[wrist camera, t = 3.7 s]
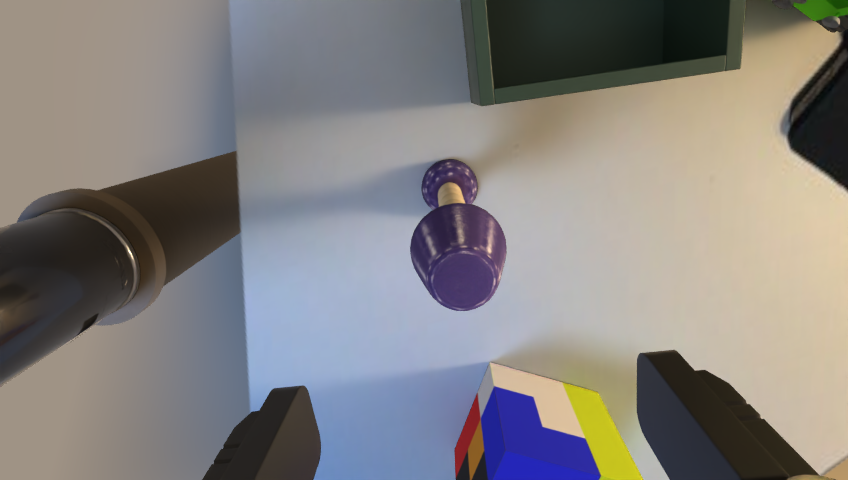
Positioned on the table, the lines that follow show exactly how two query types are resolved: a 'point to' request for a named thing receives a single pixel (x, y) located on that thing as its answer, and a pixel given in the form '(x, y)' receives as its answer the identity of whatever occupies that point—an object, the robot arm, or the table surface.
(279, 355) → the table surface
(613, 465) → the puzzle toy
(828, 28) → the toy tractor
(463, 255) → the toy lamp
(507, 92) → the bin
